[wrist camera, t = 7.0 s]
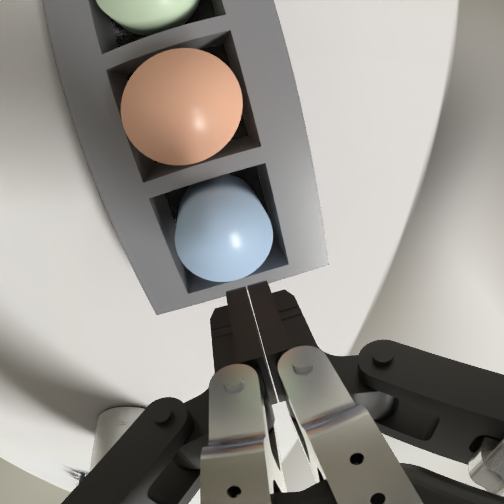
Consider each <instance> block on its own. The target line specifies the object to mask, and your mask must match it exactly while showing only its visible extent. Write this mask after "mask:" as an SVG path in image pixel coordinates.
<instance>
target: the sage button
mask: <svg viewBox="0 0 504 504" xmlns="http://www.w3.org/2000/svg"><path fill="white" fill-rule="evenodd" d="M199 1H200V0H96V2H97V4H98V6H99V7H100V8H101V9H102V10H103V11H104V12H105V13H106V14H107V15H109V16H110V17H111V18H112V19H113V20H115V21H116V22H117V23H118V24H120V25H121V26H122V27H123V28H124V29H126V30H127V31H129V32H131V33H134V34H137V35H142V36H151V35H154V34H156V33H160V32H163V31H166V30H169V29H172V28H175V27H179V26H181V25H183V24H184V23H185V22H187V21H188V20H189V19H190V18H191V16H192V15H193V14H194V12H195V11H196V9H197V7H198V5H199Z"/></svg>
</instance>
